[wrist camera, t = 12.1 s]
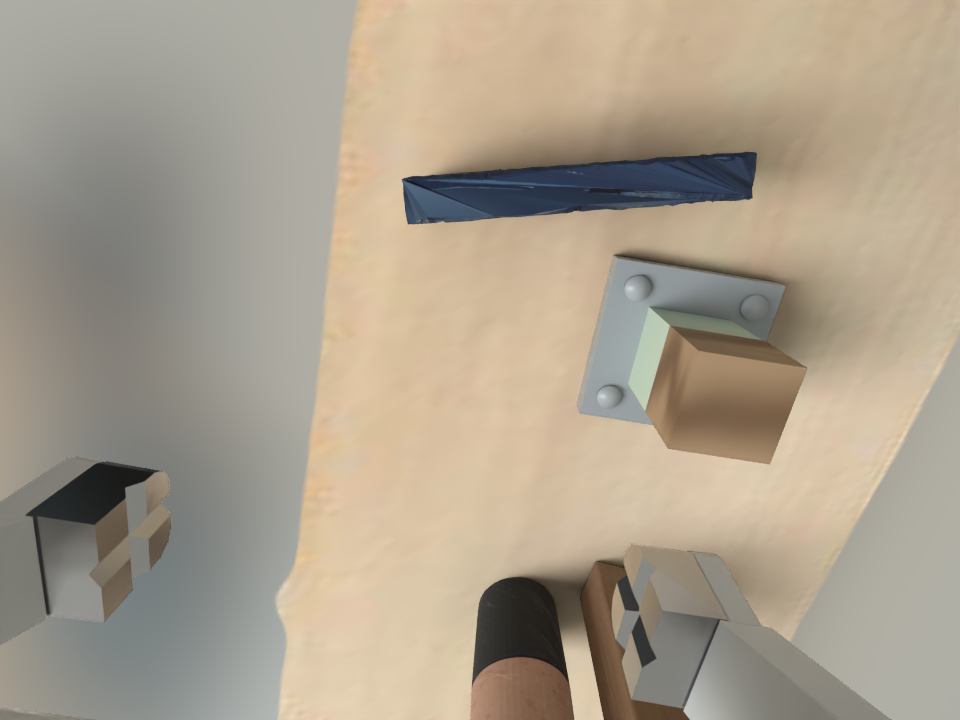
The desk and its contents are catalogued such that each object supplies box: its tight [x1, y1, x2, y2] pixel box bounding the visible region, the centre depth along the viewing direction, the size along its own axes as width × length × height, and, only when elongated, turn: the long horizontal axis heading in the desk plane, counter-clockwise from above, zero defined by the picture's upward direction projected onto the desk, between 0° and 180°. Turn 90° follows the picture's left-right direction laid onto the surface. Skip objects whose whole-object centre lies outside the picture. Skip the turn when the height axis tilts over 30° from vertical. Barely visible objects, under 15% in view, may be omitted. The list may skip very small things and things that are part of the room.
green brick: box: [628, 307, 761, 410], centre depth 37 cm, size 6×6×5 cm
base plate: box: [577, 255, 786, 425], centre depth 40 cm, size 12×12×2 cm
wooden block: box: [580, 562, 690, 720], centre depth 40 cm, size 9×4×18 cm, turn 75°
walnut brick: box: [645, 326, 807, 464], centre depth 32 cm, size 6×6×5 cm
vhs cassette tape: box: [402, 152, 757, 224], centre depth 32 cm, size 18×3×10 cm, turn 93°
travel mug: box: [470, 578, 574, 720], centre depth 40 cm, size 8×8×20 cm
